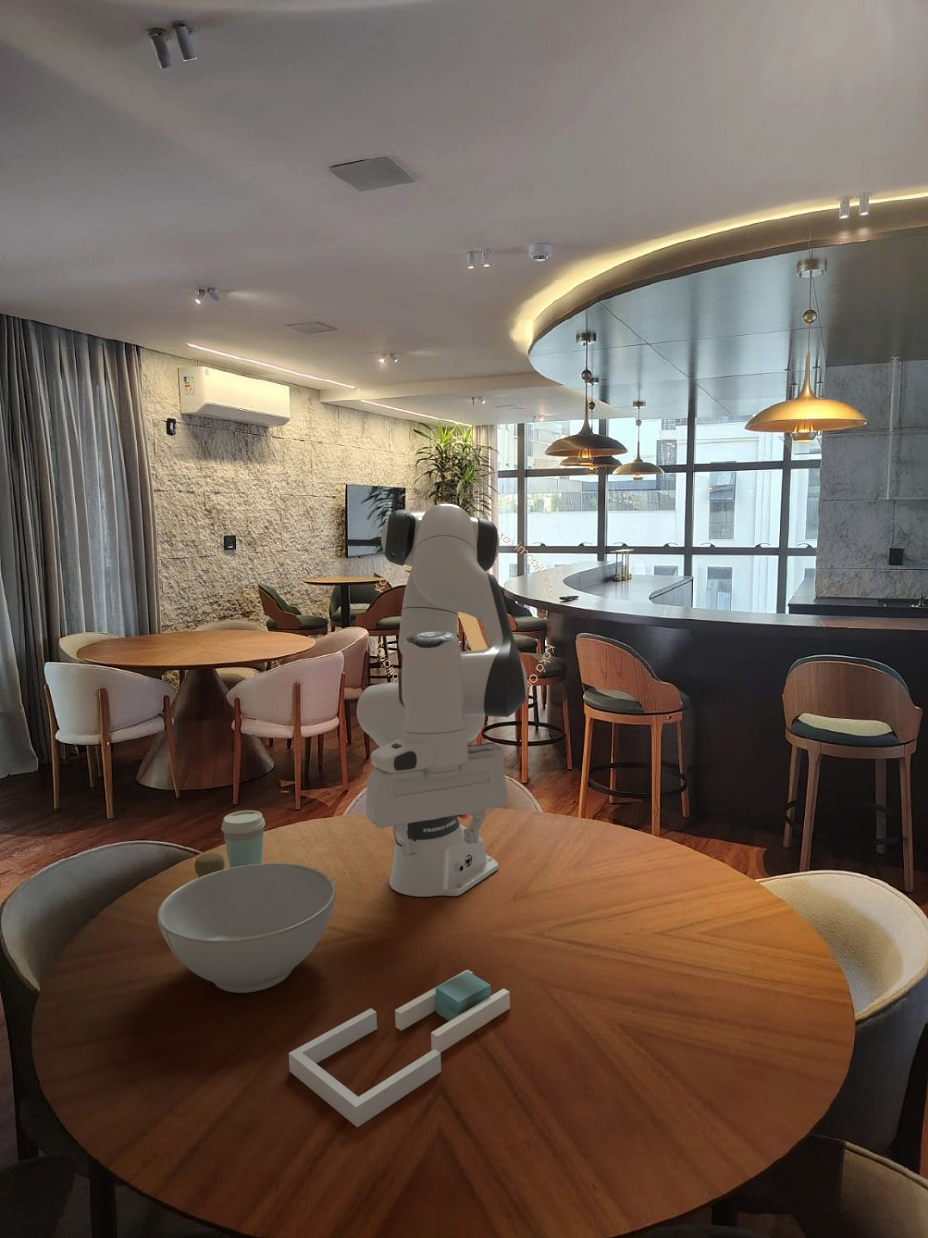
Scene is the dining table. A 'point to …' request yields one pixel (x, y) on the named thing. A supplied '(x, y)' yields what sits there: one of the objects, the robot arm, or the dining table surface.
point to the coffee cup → (244, 837)
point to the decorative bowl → (248, 923)
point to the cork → (209, 864)
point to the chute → (458, 1025)
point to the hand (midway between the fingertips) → (441, 848)
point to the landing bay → (342, 1097)
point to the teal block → (460, 995)
